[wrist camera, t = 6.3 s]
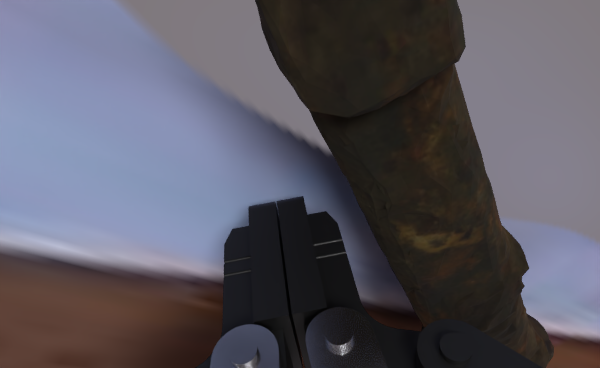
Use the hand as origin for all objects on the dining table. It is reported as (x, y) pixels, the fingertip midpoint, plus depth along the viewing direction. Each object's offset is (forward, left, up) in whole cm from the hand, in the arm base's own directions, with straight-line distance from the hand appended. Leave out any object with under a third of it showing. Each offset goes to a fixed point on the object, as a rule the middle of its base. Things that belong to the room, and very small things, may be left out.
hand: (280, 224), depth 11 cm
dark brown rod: (-3, -2, -1) cm, 4 cm away
